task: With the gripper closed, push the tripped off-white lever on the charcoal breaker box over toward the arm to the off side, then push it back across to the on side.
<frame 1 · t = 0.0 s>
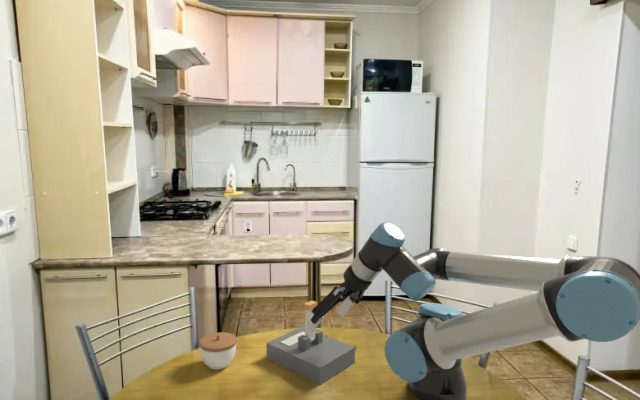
hand: (325, 320, 122), 15 cm above the table, tool tilted 35°, fingers open, 13 cm apart
breaker box: (310, 360, 129), on the table
lidded jar: (218, 365, 127), on the table
breaker lever: (310, 322, 128), point 12 cm above the table, hinge at 0.0°
router antennas: (334, 347, 138), on the table
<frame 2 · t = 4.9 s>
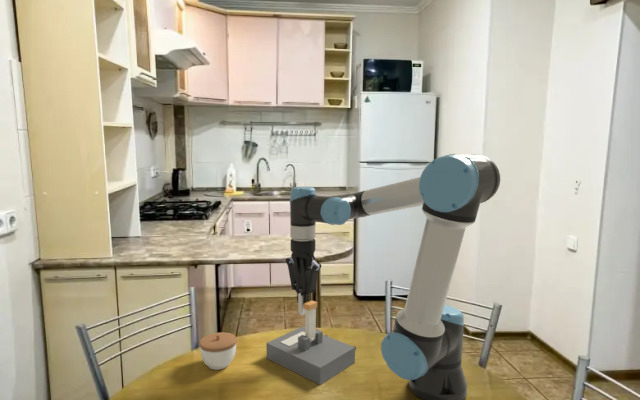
hand: (303, 313, 129), 14 cm above the table, tool pointing down, fingers closed
breaker lever: (310, 322, 128), point 12 cm above the table, hinge at -0.1°, touching gripper
everything else where it was.
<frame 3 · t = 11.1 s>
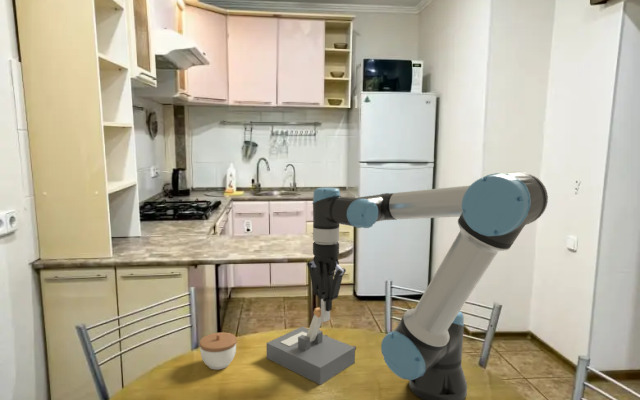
hand: (325, 320, 124), 15 cm above the table, tool pointing down, fingers closed
breaker lever: (315, 325, 127), point 12 cm above the table, hinge at -22.2°, touching gripper
everything else where it was.
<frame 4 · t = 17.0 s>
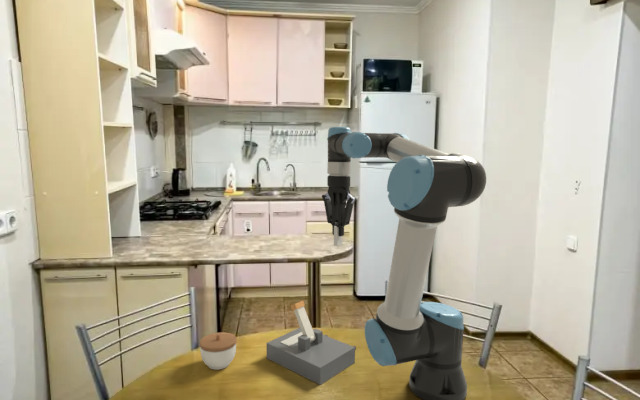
hand: (338, 245, 141), 32 cm above the table, tool pointing down, fingers closed
breaker lever: (304, 322, 130), point 12 cm above the table, hinge at 30.3°
everything else where it was.
at the end: breaker lever at +30° (first picture: +0°) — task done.
